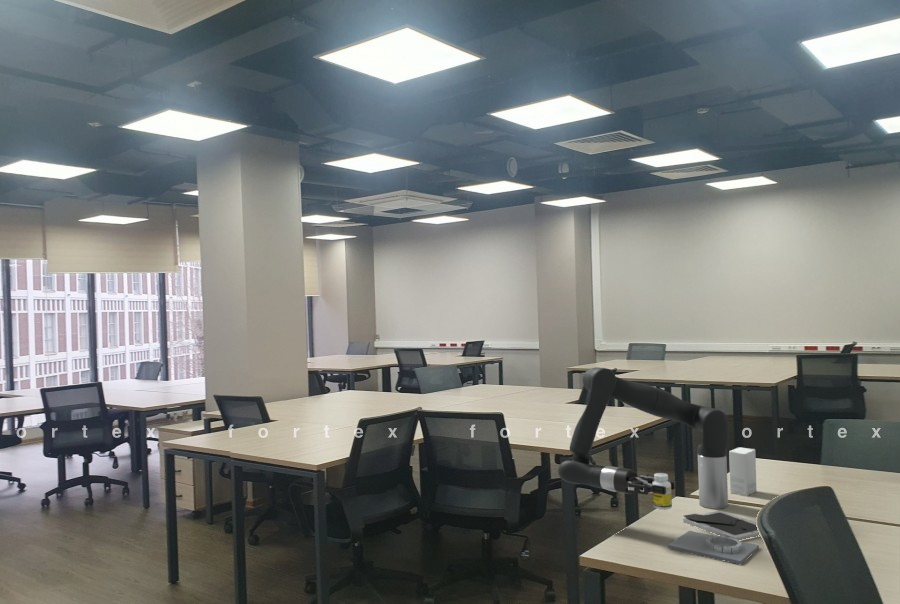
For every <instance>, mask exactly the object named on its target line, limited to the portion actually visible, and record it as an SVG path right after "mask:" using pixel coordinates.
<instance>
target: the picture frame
mask: <svg viewBox="0 0 900 604" xmlns="http://www.w3.org/2000/svg"><path fill="white" fill-rule="evenodd" d="M682 520H683V523H684V524H686V523H687V524H686V525H689V524H690V525H689V526H691V525H693V526H692V527H694V526H696V527H698V528H697V529H699V528H701V529H703V530H702V531H704V530H706V531H705V532H707V531H709V532H712V533H715V534H717V535H720V536H724V537H730V538H734V539H737V540H742V539H746V538H750V537H756V536H757V537H758V535H759V532H758V530H757V527H756V523H757V522H755V521H752V520H749V519H746V518H743V517H740V516H737V515H735V514H731V513H730V512H729V513H728V512H726V511H723V510H721V509H719V510H715V511H711V512H706V513H702V514H699V513H690V514H685V515H683V519H682ZM696 527H695V528H696ZM701 529H700V530H701ZM709 532H708V533H709ZM712 533H711V534H712ZM717 535H716V536H717ZM759 536H760V535H759ZM758 538H759V537H758Z"/></svg>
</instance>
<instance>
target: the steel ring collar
mask: <svg viewBox="0 0 900 604" xmlns="http://www.w3.org/2000/svg"><path fill="white" fill-rule="evenodd" d="M713 536H714V537H709V538H708V539H706V545H707V548H709V549H711V550H713V551H716V552H720V553H722V552H723V553H737V552H740V551H741V550H742V544H741V542H740V541H739V540H737V539H734V538H730V537H724V536H717V535H713ZM713 543H728V544H732V545H734V546H730V547H729V546H719V545H715V544H713Z"/></svg>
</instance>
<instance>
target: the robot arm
mask: <svg viewBox="0 0 900 604" xmlns="http://www.w3.org/2000/svg"><path fill="white" fill-rule="evenodd" d="M582 384H583V387H584V388H585V389H586V391H587V392H589V397H588V401H587V404H586V407H585V409H584V411H583V412H582V415H581V416H580V417H579V419H578V421H577V424H576V425H575V428H574V430H573V434H572V437H571V440H570V443H569V451H570V452H571V453H572V459H571V460H568V459H567V460H565V461H563V462H561V463H560V465H558V470H557V472H558V476H559V478H560V479H561V480H562V481H563V482H565V483H570V484H574V485H587V486H591V487H593V488H598V489H603V490H607V491H610V492H614V493H615V492H616V493H620V494H626V495H632V494H639V495H649V494H653V493H658V494H663V495H664V494H666V487H664V486H658V485H652V483H653V482H654V481H655V479H654V474H649V473H648V474H646V475H639V476H638V475H637V473H636V471H635V470H634V469H632V468H631V469H630V468H625V467H620V466H619V467H617V466H607V465H606V466H605V465H598V464H590V463H591V451H592V447H593V444H594V441H595V438H596V435H597V431H598V428H599V426H600V423H601V420H602V418H603V415H604V413H605V411H606V408H607V405H608V403H609V401H610V399H614V400H616V401H620V402H621V403H624V404H626V405H627V406H629V407H631V408H634V409H636V410H639V411H641V412H643V413H645V414H649V415H652V416H654V417H657V418H662V419H665V420H672V421H676V422H679V423H682V424H684V425H686V426H688V427H690V428H693V429H694V430H696V431H697V432H700V433H702V442H701V444H699V445H697V472H698V476H697V477H698V497H699V498H698V501H699V502H698V503H699V505H700V506H701V507H704V508H708V509H717V510H718V509H719V510H720V509H725V508H728V507H729V493H728V492H729V491H728V490H729V489H728V467H727V466H728V465H727V464H728V463H727V461H728V460H727V450H728V448H729V441H730V439H729V438H730V437H729V436H730V435H729V433H730V424H729V420H728V417H727V415H726V413H725V412H724V411H722V410H720V409H717V408H713V407H710V406H705V405H700V404H695V403H691V402H688V401H685V400H683V399H682V398H681V399H680V398H679V397H678V396H676V395H674V394H672V393H671V392H668V391H666V390H664V389H661V388H659V387H655V386H653V385H649V384H645V383H642V382H641V383H640V382H636V381H630V380H626V379H623V378H620V377H618V376H616V374H615V372H613V371H612V370H611V369H610V368H606V367H592V368H589V369H588V370H586V371H585V372H584V373H583V375H582ZM668 481H669V480H668ZM669 482H670V483H671V491H672V490H675V489H676V483H675V481H671V480H670V481H669Z"/></svg>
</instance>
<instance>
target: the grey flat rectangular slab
mask: <svg viewBox="0 0 900 604" xmlns="http://www.w3.org/2000/svg"><path fill="white" fill-rule="evenodd" d="M714 536H715V535H714V534H708V533H702V532H697V531H694V530H688V531H686V532H685V533H684V534H682V535H681V536H679V537H678V538H676V539H674V540H673V541H672V542H670V543H668V544H667V548H668V549H669V550H674V551H678V552H682V553H683V552H684V553H686V552H687V553H686V554H691V553H692V554H691V555H695V554H696V555H695V556H699V555H701V556H700V557H704V556H705V557H704V558H708V557H709V558H708V559H712V558H714V559H713V560H717V559H719V560H718V561H721V560H725V561H729V562H728V563H730V562H733V563H732V564H734V563H737V564H736V565H738V564H741V565H743V564H744V563H745V562H746V561H747V560H748V559H749V558H750V557H751V556H752V555H754V554H755V553H756V552H757V551H758V550H759V549H760V544H755V543H751V542H746V541H740V542H741V544H742V550H741V551H740V552H737V553H723V552H722V553H720V552H716V551H713V550H711V549H709V548H707V545H706V539H708V538H709V537H714ZM713 544H715V545H719V546H729V547H730V546H734V545H732V544H728V543H713ZM757 549H758V550H757ZM756 550H757V551H756ZM755 551H756V552H755ZM754 552H755V553H754ZM753 553H754V554H753ZM751 554H752V555H751ZM750 555H751V556H750ZM749 556H750V557H749ZM748 557H749V558H748ZM747 558H748V559H747ZM746 559H747V560H746ZM745 560H746V561H745ZM725 561H724V562H725ZM744 561H745V562H744Z"/></svg>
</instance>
